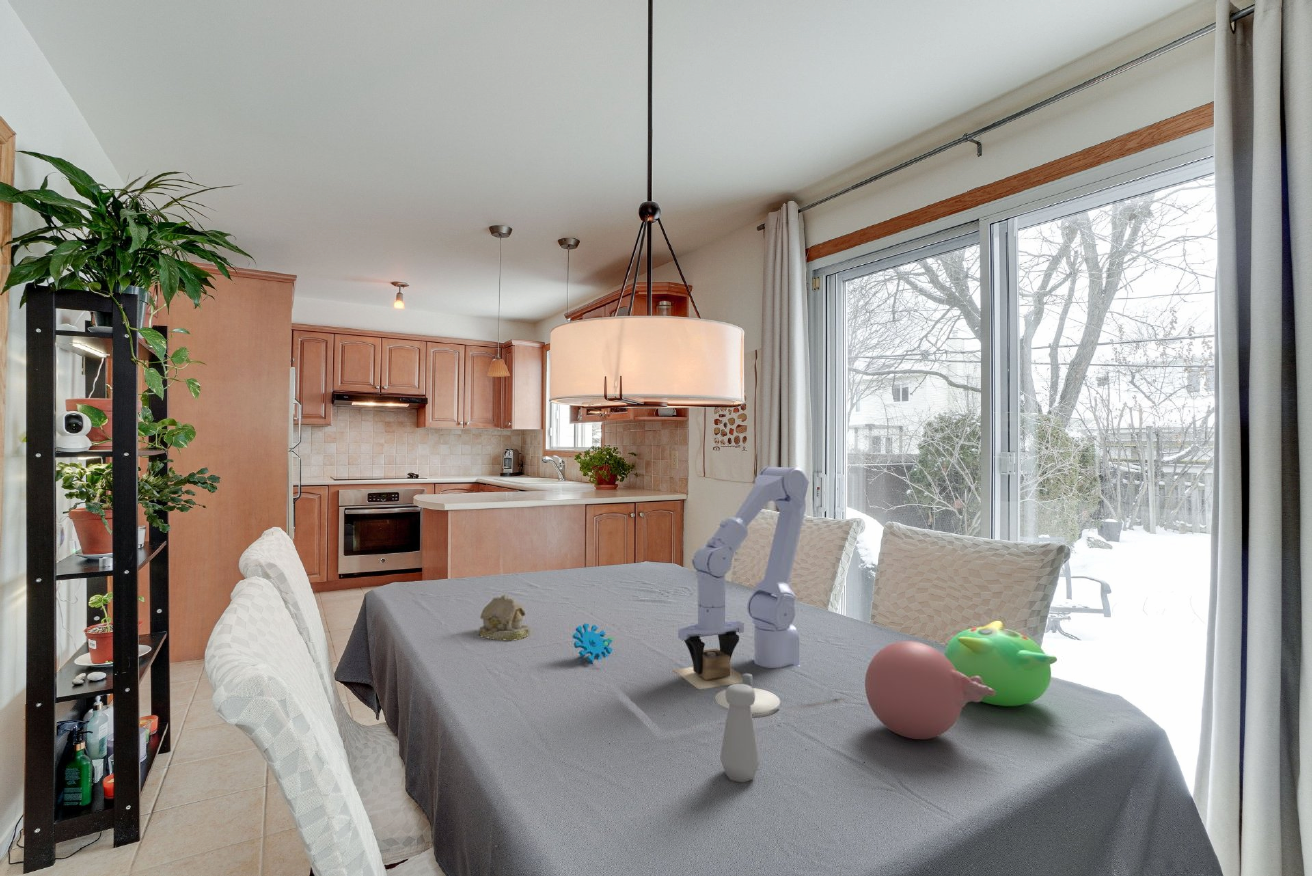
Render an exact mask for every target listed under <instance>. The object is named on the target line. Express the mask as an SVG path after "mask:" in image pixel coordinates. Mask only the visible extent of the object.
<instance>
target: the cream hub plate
mask: <svg viewBox="0 0 1312 876" xmlns="http://www.w3.org/2000/svg"><path fill="white" fill-rule="evenodd" d="M742 675H743V682H742V684H746V685H749V686H751V687H752V688H753V690H754V692H755V701H754V703H753V705H750V706H751V713H752V718H753V719H757V718H758V719H759V718H767V717H770V716H773V715H774V714H777V713H778V712H779V711H780V708H777V707H779V706H780V704H781V700H780V698H779V697H778V696H777V695H775V694H774V693H772V692H770V691H768V690H765V689H761V688H755V687H753V674H751V673H742ZM725 693H726V689H723V690H721V691H719V692H718V693H717V694H716V695H715V697H714V698H715V702H716V703H717V704H718V705H719V706H721V707H724V708H725V709H728V710H729V703H727V701H726V696H725ZM776 708H777V709H776Z"/></svg>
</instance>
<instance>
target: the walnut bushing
mask: <svg viewBox="0 0 1312 876" xmlns="http://www.w3.org/2000/svg"><path fill="white" fill-rule="evenodd" d="M708 652H715V653H716V656H715V657H709V658H708V657H707V653H708ZM692 667H693V671H694V666H693V665H692ZM730 668H731V660H730V656H729V655H727V654H725V653H723V652H722V651H720V649H718V648H711V649H704V651H703V658H702V674H698V673H697V674H698V675H700V676H701V677H703V678H704V679H705V680H708V679H714V678H720V677H726V676H730ZM694 672H695V671H694ZM695 673H696V672H695Z"/></svg>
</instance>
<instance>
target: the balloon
mask: <svg viewBox="0 0 1312 876" xmlns="http://www.w3.org/2000/svg"><path fill="white" fill-rule="evenodd" d="M864 678H865V679H864V688H865V695H866V699H867V702H868V704H869V706H870V709H871V710H872V712H873V714H874V715H875V716H876V718H877V719H878V720H879V721H880V723H882V724H883V725H884V726H885V727H886V728H888V729H889V730H890V731H891V732H893V733H895V734H897V735H899V736H902V737H905V738H908V739H914V740H927V739H933V738H937V737H938V736H941V735H944V734H945V733H946V732H948V731H949V730H950V729H952V727H953V726H954V725H955V723H956V722H957V721H958V719H959V718H960V715H961V712H962V710H963V707H965V706H966V705H967V704H968V703H970V702H973V703H980V702H982V701H981V700H982V698H983V696H984V695H986V696H994V695H995V691H994V690H993V689H992V688H989V687H987V686H985V684H984V683H983V681H982V679H981V677H979V676H973V677H971V678H968V677H967V676H965V675H964V674H962V673H960V672H958V671H956V669H955V668H954V666H953V665H952V663H951V662H950V661H949V660H948V659H947V658H946V657H945V654H943V653H942V652H940V651H939V650H937V649H936V648H934V647H932V646H930V645H929V644H925V643H923V642H918V641H911V640H910V641H909V640H905V641H898V642H894V643H890V644H888V645H885V647H883V648H882V649H880V650H879V651H878V652H877V653H876V654H875V655H874V656H873V658H872V659H871V661H870V662H869V664H868V667H867V669H866V673H865V677H864Z"/></svg>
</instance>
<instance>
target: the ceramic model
mask: <svg viewBox="0 0 1312 876" xmlns="http://www.w3.org/2000/svg"><path fill="white" fill-rule="evenodd" d="M508 597H509V596H508V595H507V594H506V595H505V594H502V595H501V597H499V596H498V597H497V596H495V597H492V600H491V601H490V602H489V603H488V604H487V605H486V606H484V608H483V609H482V611H481V614H480V619H481V620H482V622H483V623H482V624H483V626H480V627H479V629H478V635H479V634H480V635H481V636H482V637H481V636H480V635H479V636H480V637H481V638H483V637H489V638H494V639H493V640H495V639H506V640H514V639H519V640H521V638H522V639H524V638H527V637H528V636H529V635H530V631H531V628H530V626H528V625H523V618H524V616H525V615H526V612H525V609H524V608H523V606H522V605H521V604H519V602H517V601H516V599H513V598H508ZM526 636H527V637H526ZM523 637H524V638H523ZM514 641H515V640H514Z"/></svg>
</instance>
